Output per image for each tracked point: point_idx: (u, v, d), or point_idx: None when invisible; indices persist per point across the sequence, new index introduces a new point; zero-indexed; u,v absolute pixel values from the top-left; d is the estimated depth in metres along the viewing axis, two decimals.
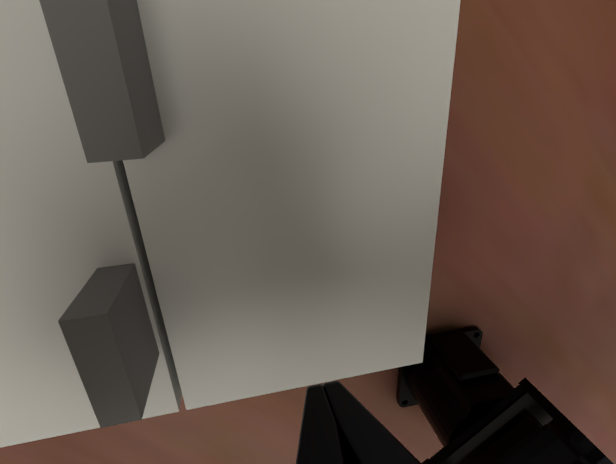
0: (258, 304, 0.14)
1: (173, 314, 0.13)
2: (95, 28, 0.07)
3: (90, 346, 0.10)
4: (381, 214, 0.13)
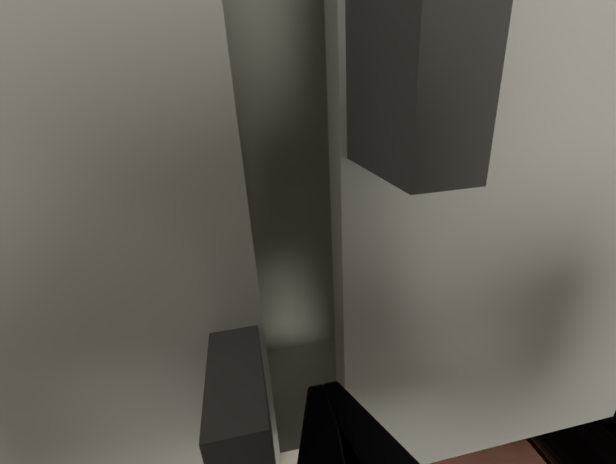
0: (456, 357, 0.11)
1: (357, 374, 0.10)
2: None
3: None
4: None
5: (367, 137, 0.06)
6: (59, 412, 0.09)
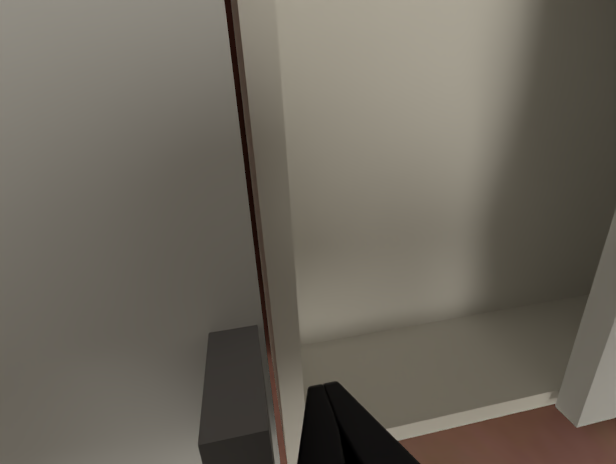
0: None
1: None
2: None
3: None
4: None
5: None
6: (57, 411, 0.09)
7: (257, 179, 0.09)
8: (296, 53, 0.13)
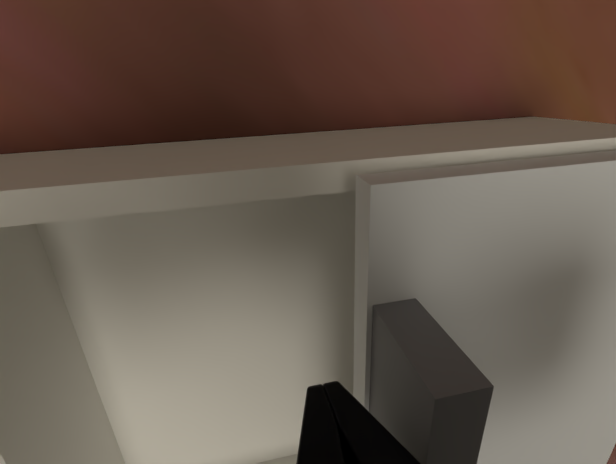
0: None
1: None
2: (468, 440, 0.07)
3: None
4: (575, 430, 0.13)
5: None
6: None
7: None
8: (93, 275, 0.14)
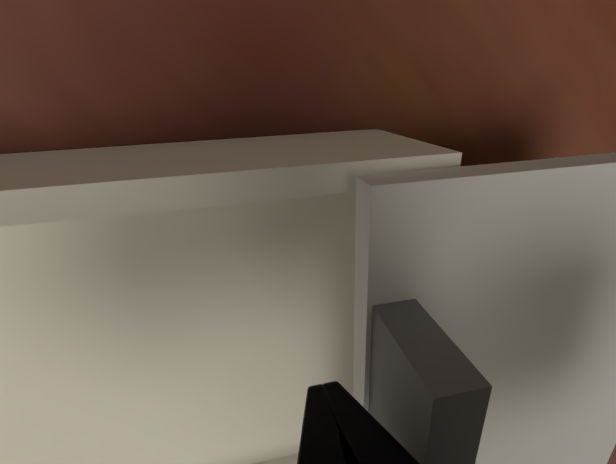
0: None
1: None
2: (466, 440, 0.07)
3: None
4: (574, 432, 0.13)
5: None
6: None
7: None
8: None
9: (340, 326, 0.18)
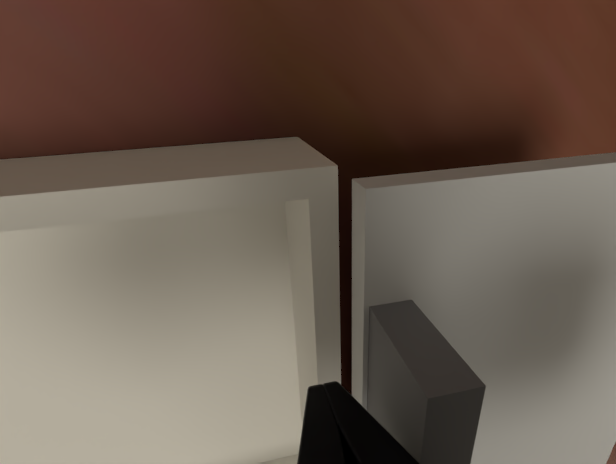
0: None
1: None
2: (461, 439, 0.07)
3: None
4: (573, 431, 0.13)
5: None
6: None
7: None
8: None
9: (275, 338, 0.17)
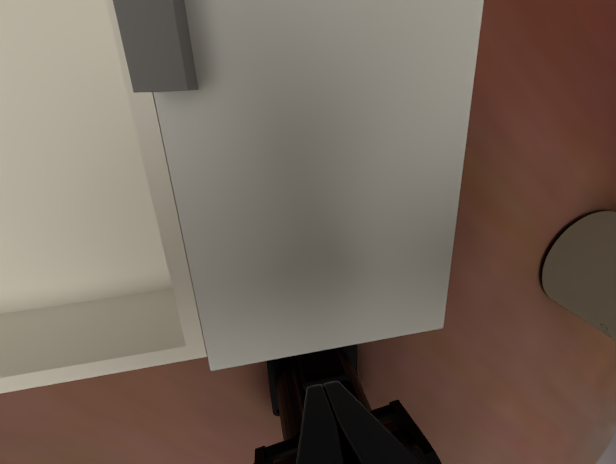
0: (284, 262, 0.14)
1: (201, 270, 0.13)
2: None
3: None
4: (406, 172, 0.13)
5: None
6: None
7: None
8: None
9: None
